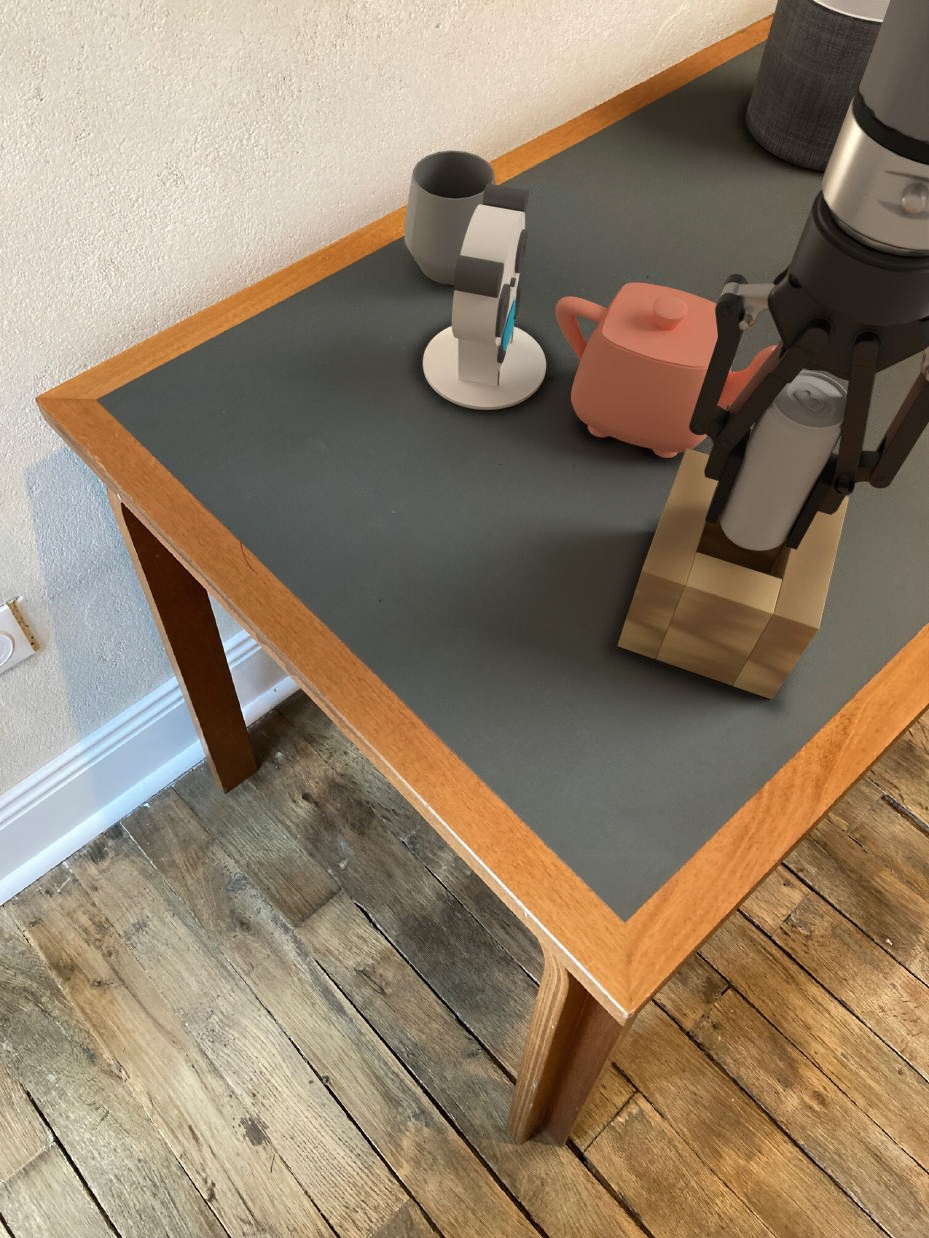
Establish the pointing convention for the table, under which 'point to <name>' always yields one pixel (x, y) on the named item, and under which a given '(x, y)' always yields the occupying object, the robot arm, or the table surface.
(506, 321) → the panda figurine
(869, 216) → the robot arm
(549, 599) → the table surface
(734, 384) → the teapot
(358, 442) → the table surface
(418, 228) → the cup
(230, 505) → the table surface
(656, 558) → the wooden box
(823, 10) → the planter
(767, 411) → the beverage can
